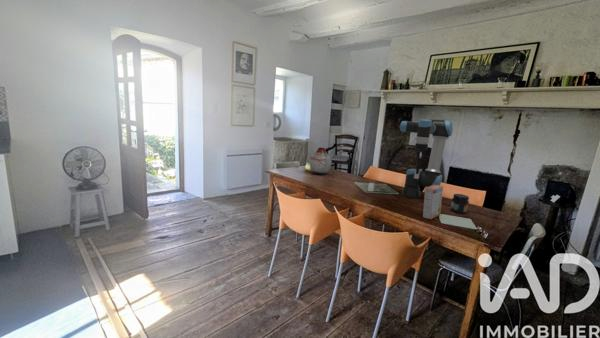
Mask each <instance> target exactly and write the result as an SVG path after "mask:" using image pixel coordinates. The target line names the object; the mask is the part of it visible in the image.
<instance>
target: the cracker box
mask: <svg viewBox="0 0 600 338" xmlns="http://www.w3.org/2000/svg"><path fill="white" fill-rule="evenodd" d="M443 190H444V186H443V185H440V186H439V185H432V186H429V187H424V196H423V197H424V198H423V211H422V218H424V219H426V220H427V219H428V220H430V221H431V220H433V219H435V218H439V216H440V214H441V211H442V210H441V209H442V201H443Z"/></svg>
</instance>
